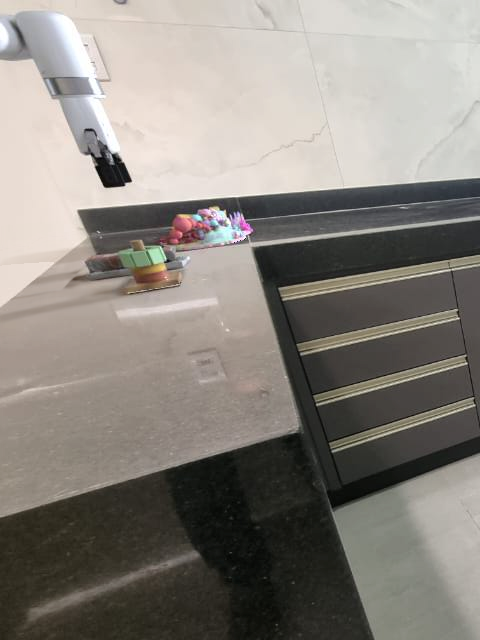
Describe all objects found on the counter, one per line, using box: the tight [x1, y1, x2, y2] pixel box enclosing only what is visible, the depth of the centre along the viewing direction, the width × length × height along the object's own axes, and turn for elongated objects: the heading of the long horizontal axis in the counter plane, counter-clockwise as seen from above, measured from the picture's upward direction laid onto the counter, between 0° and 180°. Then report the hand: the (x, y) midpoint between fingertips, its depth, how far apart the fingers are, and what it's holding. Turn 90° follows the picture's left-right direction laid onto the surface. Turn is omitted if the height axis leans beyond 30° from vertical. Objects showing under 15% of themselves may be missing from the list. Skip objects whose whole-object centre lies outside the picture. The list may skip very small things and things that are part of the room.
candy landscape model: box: [155, 205, 254, 252], centre depth 158 cm, size 25×24×9 cm
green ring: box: [117, 245, 166, 268], centre depth 113 cm, size 7×7×3 cm
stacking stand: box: [123, 239, 183, 294], centre depth 114 cm, size 9×9×10 cm
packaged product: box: [84, 247, 191, 281], centre depth 129 cm, size 18×5×10 cm
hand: (119, 185), depth 106 cm, fingers open, 9 cm apart
